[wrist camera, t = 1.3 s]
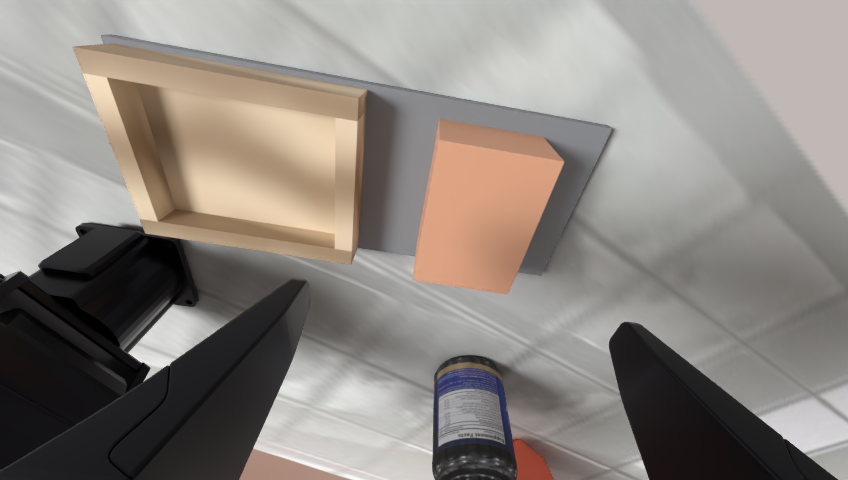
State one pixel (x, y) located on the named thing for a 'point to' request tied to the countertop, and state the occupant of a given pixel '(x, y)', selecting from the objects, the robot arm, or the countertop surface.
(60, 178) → the countertop surface
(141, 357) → the countertop surface
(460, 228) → the card deck block
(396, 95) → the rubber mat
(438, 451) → the pill bottle
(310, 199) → the tray
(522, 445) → the french fries container
